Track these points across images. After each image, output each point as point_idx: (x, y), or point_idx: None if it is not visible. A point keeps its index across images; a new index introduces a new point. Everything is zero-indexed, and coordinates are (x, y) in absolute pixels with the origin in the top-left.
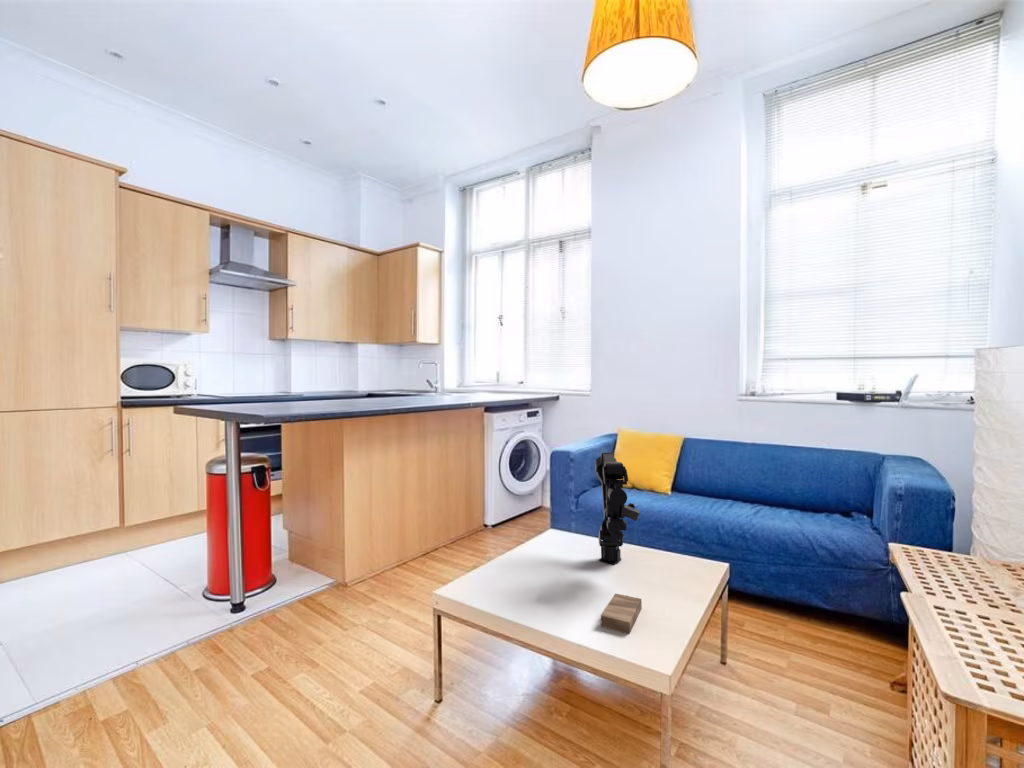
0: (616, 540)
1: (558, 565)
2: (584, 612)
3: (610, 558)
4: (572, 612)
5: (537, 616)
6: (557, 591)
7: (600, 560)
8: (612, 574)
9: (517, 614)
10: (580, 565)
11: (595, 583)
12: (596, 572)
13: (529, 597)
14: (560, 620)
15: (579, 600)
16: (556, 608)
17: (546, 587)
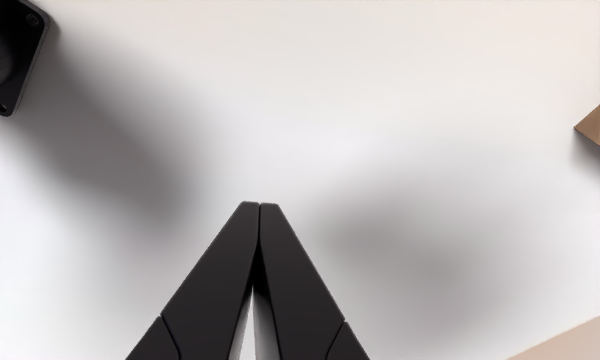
0: (290, 235)
1: (152, 284)
2: (570, 238)
3: (1, 50)
4: (548, 265)
5: (521, 326)
6: (392, 292)
7: (15, 108)
8: (233, 67)
9: (490, 352)
10: (127, 213)
11: (349, 176)
12: (211, 153)
13: (411, 340)
14: (572, 290)
15: (482, 243)
16: (502, 296)
17: (356, 313)
